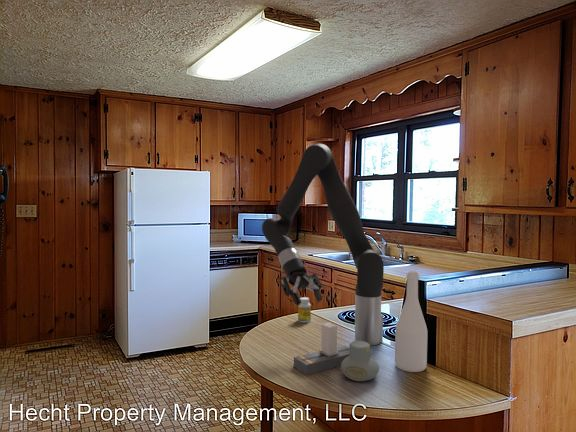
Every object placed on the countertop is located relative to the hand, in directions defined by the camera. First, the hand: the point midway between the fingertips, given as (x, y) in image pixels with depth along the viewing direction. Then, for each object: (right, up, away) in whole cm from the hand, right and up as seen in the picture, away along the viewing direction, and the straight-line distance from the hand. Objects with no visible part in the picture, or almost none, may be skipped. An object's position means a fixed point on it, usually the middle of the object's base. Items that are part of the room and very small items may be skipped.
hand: (309, 302), depth 146 cm
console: (+5, -18, -9) cm, 20 cm away
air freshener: (+14, -19, -18) cm, 29 cm away
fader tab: (+6, -14, -8) cm, 17 cm away
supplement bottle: (-1, -15, +36) cm, 39 cm away
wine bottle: (+31, -18, -11) cm, 37 cm away
